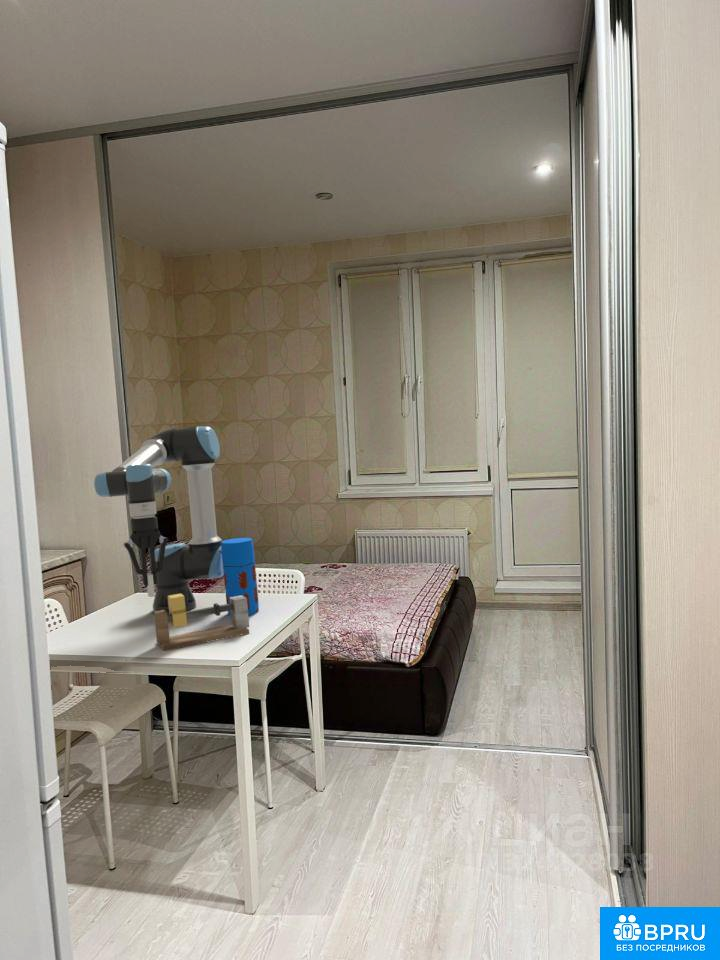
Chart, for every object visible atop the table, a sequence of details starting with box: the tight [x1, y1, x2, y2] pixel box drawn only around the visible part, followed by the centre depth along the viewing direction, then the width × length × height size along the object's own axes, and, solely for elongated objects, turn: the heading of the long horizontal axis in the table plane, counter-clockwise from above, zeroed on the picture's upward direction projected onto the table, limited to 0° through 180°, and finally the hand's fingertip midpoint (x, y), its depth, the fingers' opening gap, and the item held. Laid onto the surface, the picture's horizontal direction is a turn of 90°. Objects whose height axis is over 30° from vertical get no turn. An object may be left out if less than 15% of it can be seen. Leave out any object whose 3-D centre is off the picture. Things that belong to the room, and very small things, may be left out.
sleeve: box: [168, 594, 188, 629], centre depth 226 cm, size 4×4×9 cm
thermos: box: [221, 537, 260, 617], centre depth 257 cm, size 11×11×25 cm
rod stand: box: [153, 595, 250, 651], centre depth 229 cm, size 10×28×10 cm, turn 117°
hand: (151, 595), depth 222 cm, fingers closed
